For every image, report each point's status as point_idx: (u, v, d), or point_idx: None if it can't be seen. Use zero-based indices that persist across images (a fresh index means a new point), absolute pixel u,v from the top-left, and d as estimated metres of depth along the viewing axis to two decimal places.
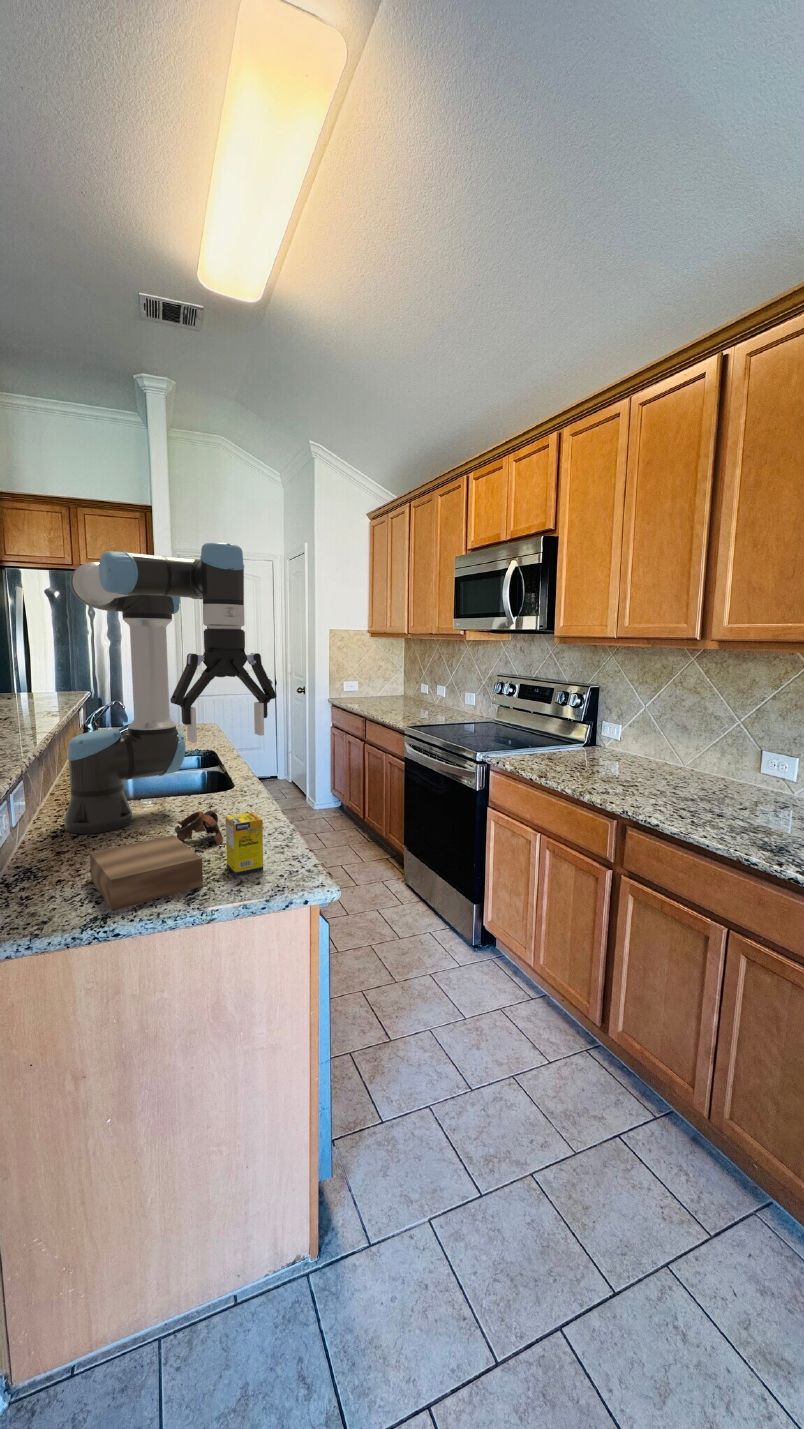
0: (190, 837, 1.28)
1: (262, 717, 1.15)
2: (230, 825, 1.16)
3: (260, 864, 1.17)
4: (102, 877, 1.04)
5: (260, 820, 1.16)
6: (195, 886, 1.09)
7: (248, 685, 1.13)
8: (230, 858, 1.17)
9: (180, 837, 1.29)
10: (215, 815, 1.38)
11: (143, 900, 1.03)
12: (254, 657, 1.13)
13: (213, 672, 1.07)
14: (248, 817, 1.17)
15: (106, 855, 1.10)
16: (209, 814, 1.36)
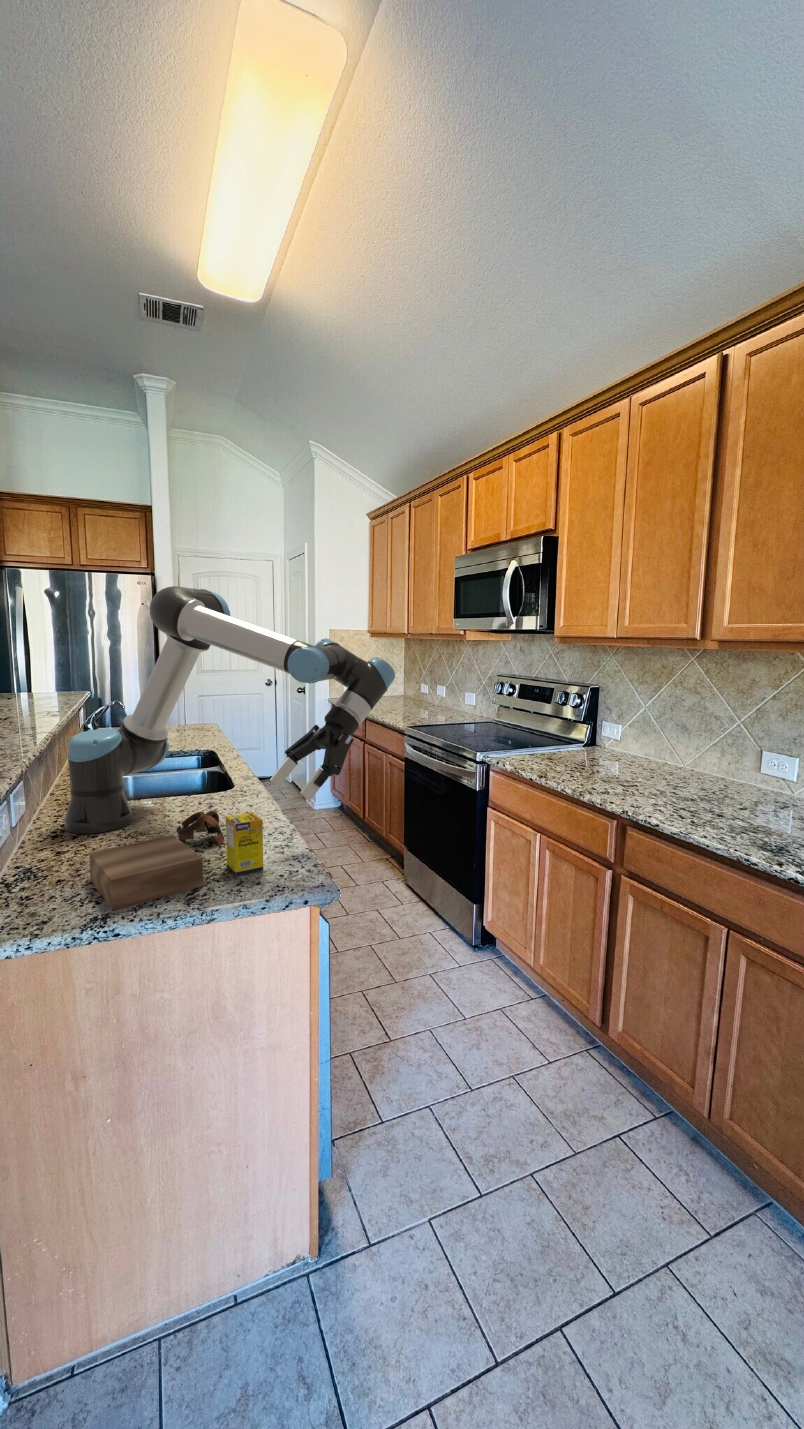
0: (192, 837, 1.28)
1: None
2: (230, 825, 1.16)
3: (260, 864, 1.17)
4: (102, 877, 1.04)
5: (260, 820, 1.16)
6: (195, 886, 1.09)
7: (309, 752, 1.30)
8: (230, 858, 1.17)
9: (181, 837, 1.29)
10: (217, 816, 1.38)
11: (144, 900, 1.03)
12: None
13: None
14: (248, 817, 1.17)
15: (106, 856, 1.10)
16: (210, 814, 1.36)
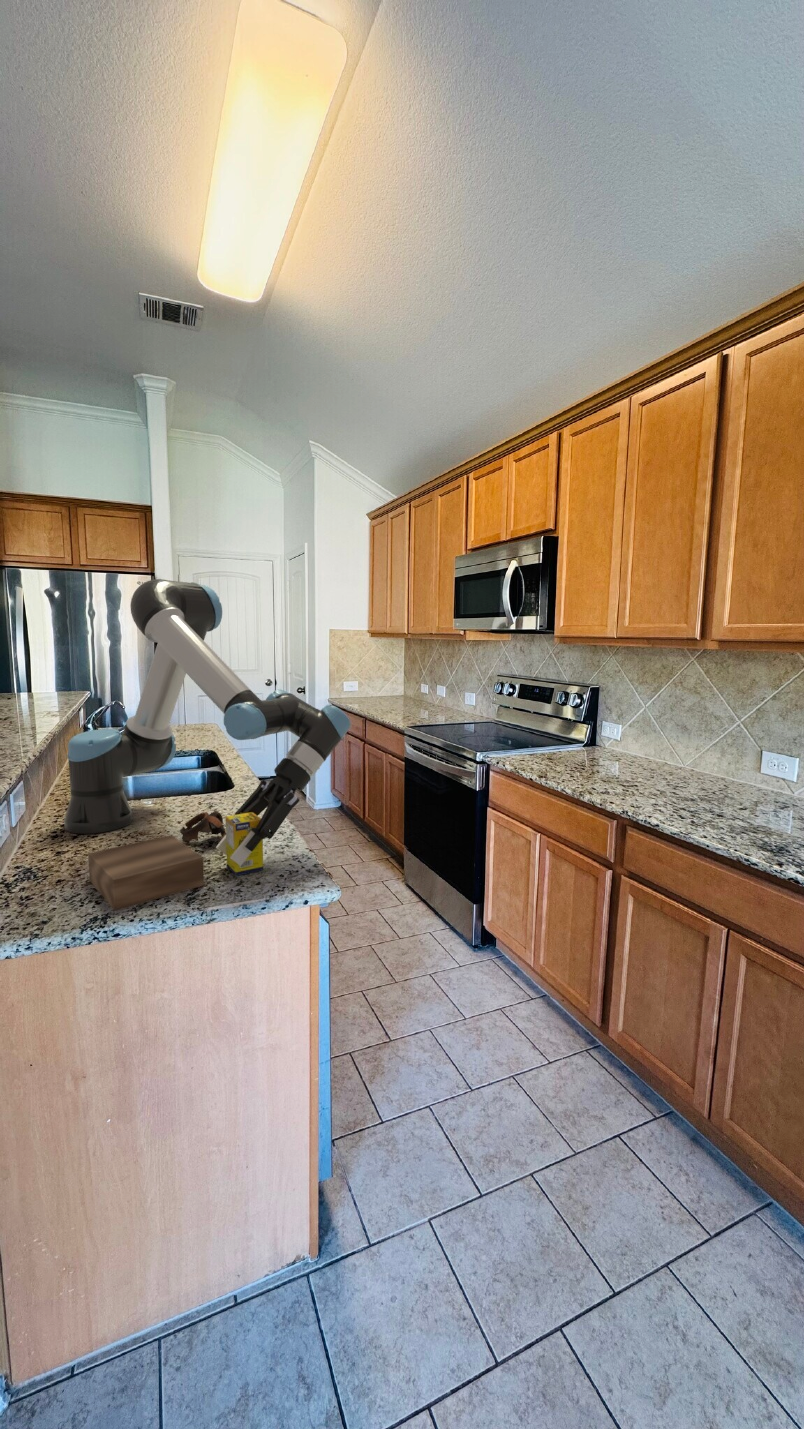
0: (196, 838, 1.27)
1: None
2: (230, 825, 1.16)
3: (260, 864, 1.17)
4: (103, 878, 1.04)
5: None
6: (196, 885, 1.10)
7: (260, 810, 1.22)
8: (230, 858, 1.17)
9: (186, 838, 1.28)
10: (220, 816, 1.38)
11: (145, 900, 1.03)
12: None
13: None
14: (248, 817, 1.17)
15: (105, 856, 1.09)
16: (214, 815, 1.35)
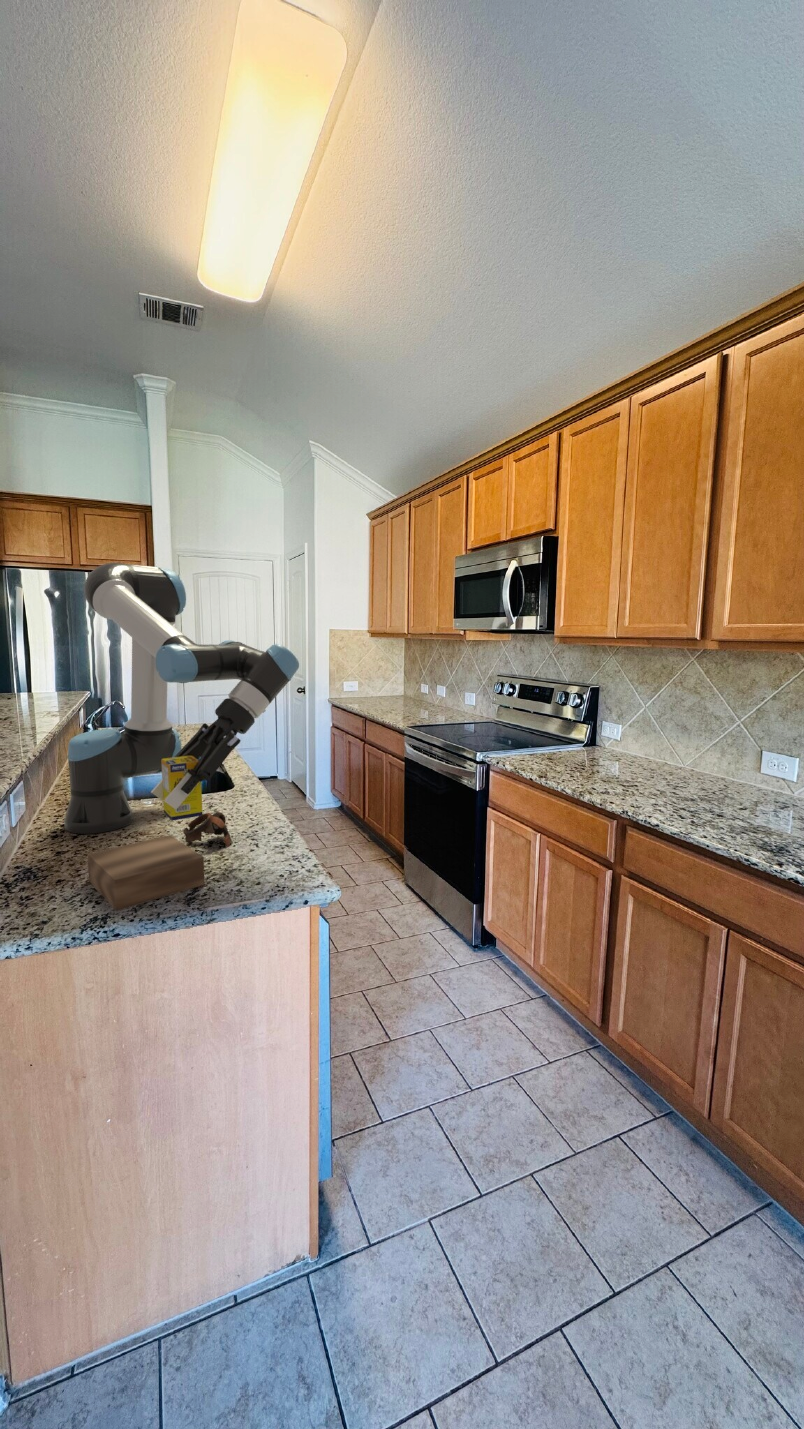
0: (199, 839, 1.27)
1: None
2: (165, 767, 1.08)
3: (199, 809, 1.10)
4: (104, 878, 1.04)
5: None
6: (197, 884, 1.10)
7: (200, 754, 1.15)
8: (166, 803, 1.09)
9: (189, 839, 1.28)
10: (223, 817, 1.37)
11: (146, 900, 1.03)
12: None
13: None
14: (185, 759, 1.10)
15: (105, 856, 1.09)
16: (217, 816, 1.35)
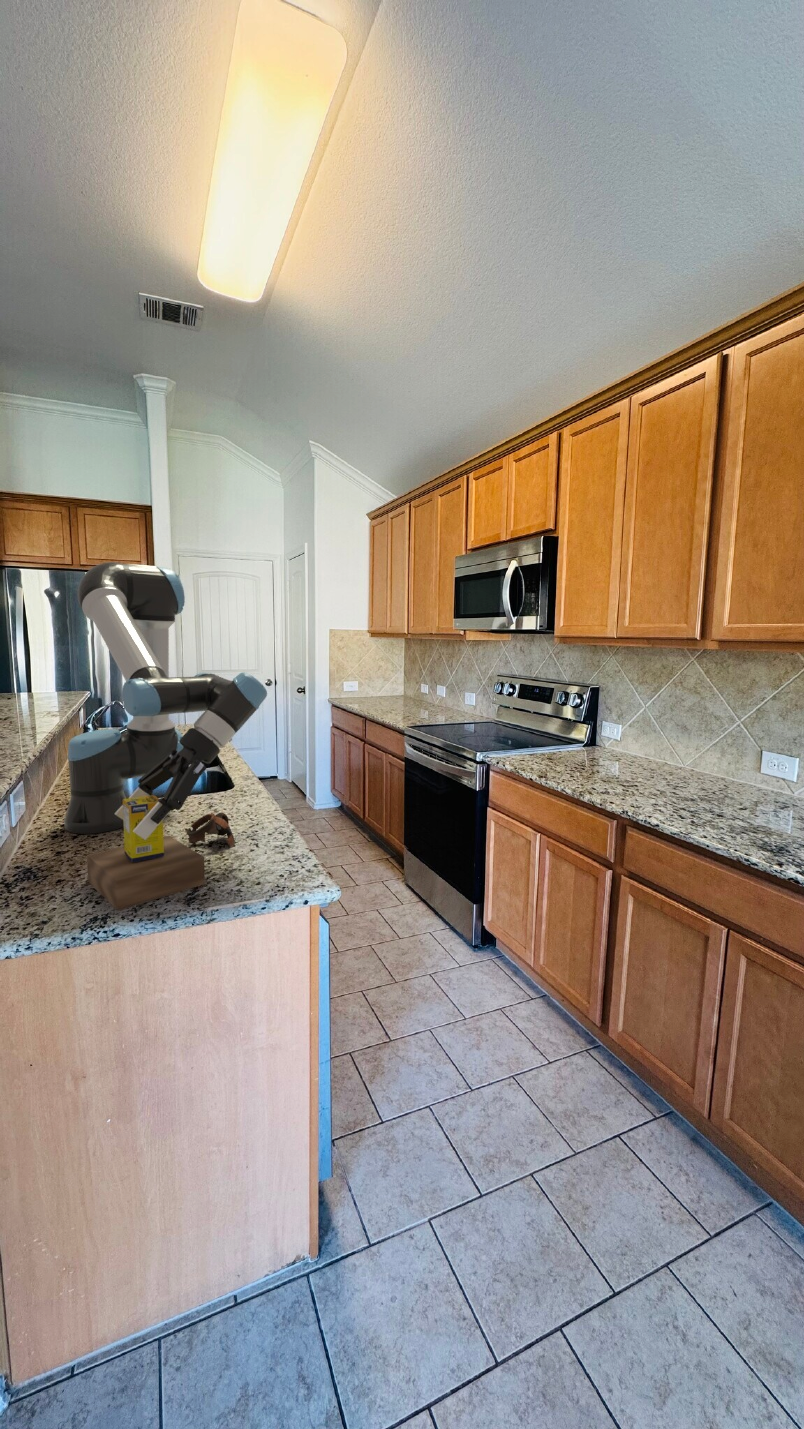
0: (203, 840, 1.26)
1: None
2: (126, 808, 1.07)
3: (160, 850, 1.09)
4: (104, 879, 1.04)
5: None
6: (197, 885, 1.10)
7: (164, 780, 1.15)
8: (127, 844, 1.08)
9: (193, 840, 1.27)
10: (226, 818, 1.37)
11: (147, 900, 1.04)
12: None
13: None
14: (147, 799, 1.09)
15: (105, 857, 1.09)
16: (220, 816, 1.35)
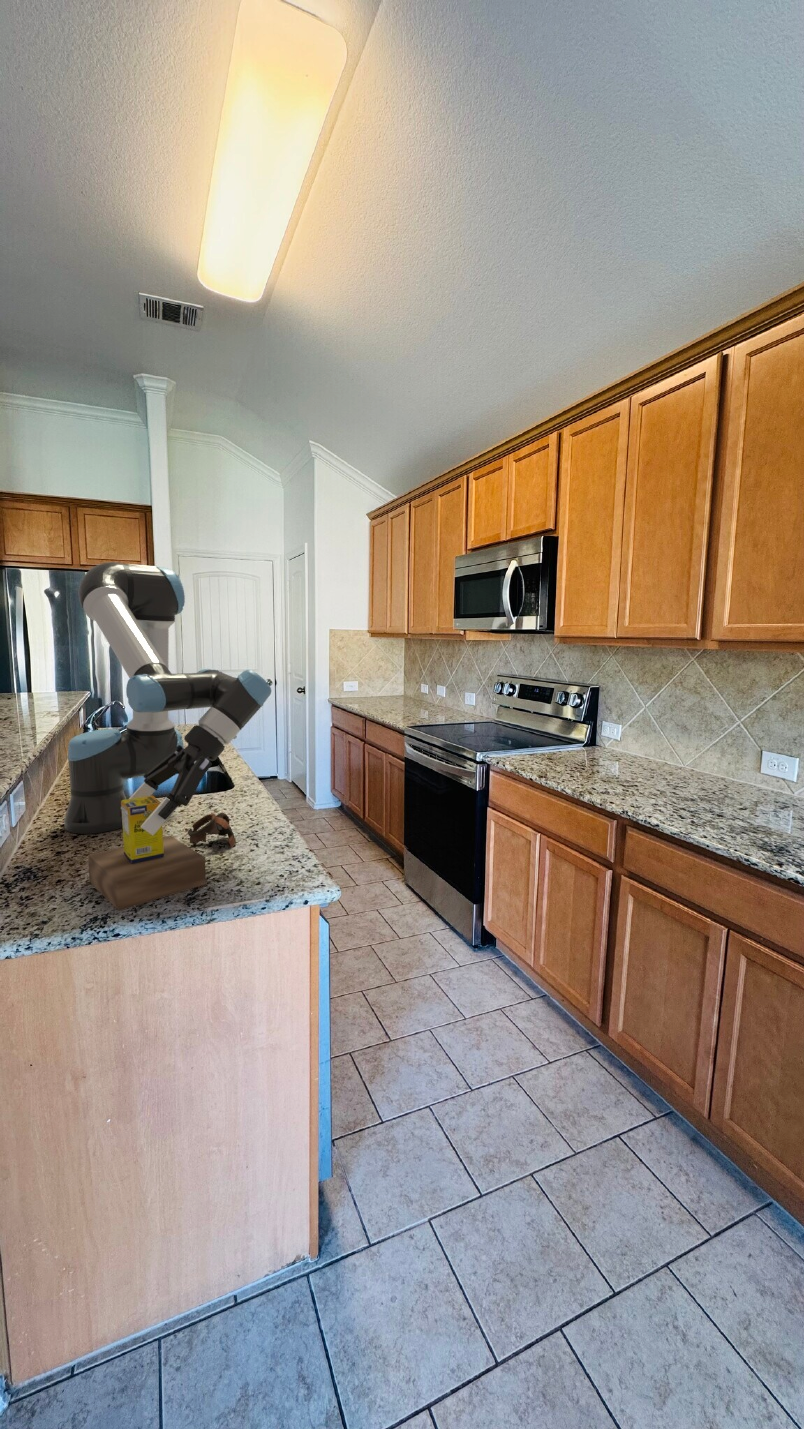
0: (204, 840, 1.26)
1: None
2: (125, 809, 1.07)
3: (160, 850, 1.09)
4: (105, 879, 1.04)
5: (159, 803, 1.08)
6: (198, 885, 1.10)
7: (169, 776, 1.16)
8: (126, 845, 1.08)
9: (194, 840, 1.27)
10: (227, 818, 1.37)
11: (148, 900, 1.04)
12: None
13: None
14: (146, 801, 1.09)
15: (106, 857, 1.09)
16: (221, 816, 1.34)
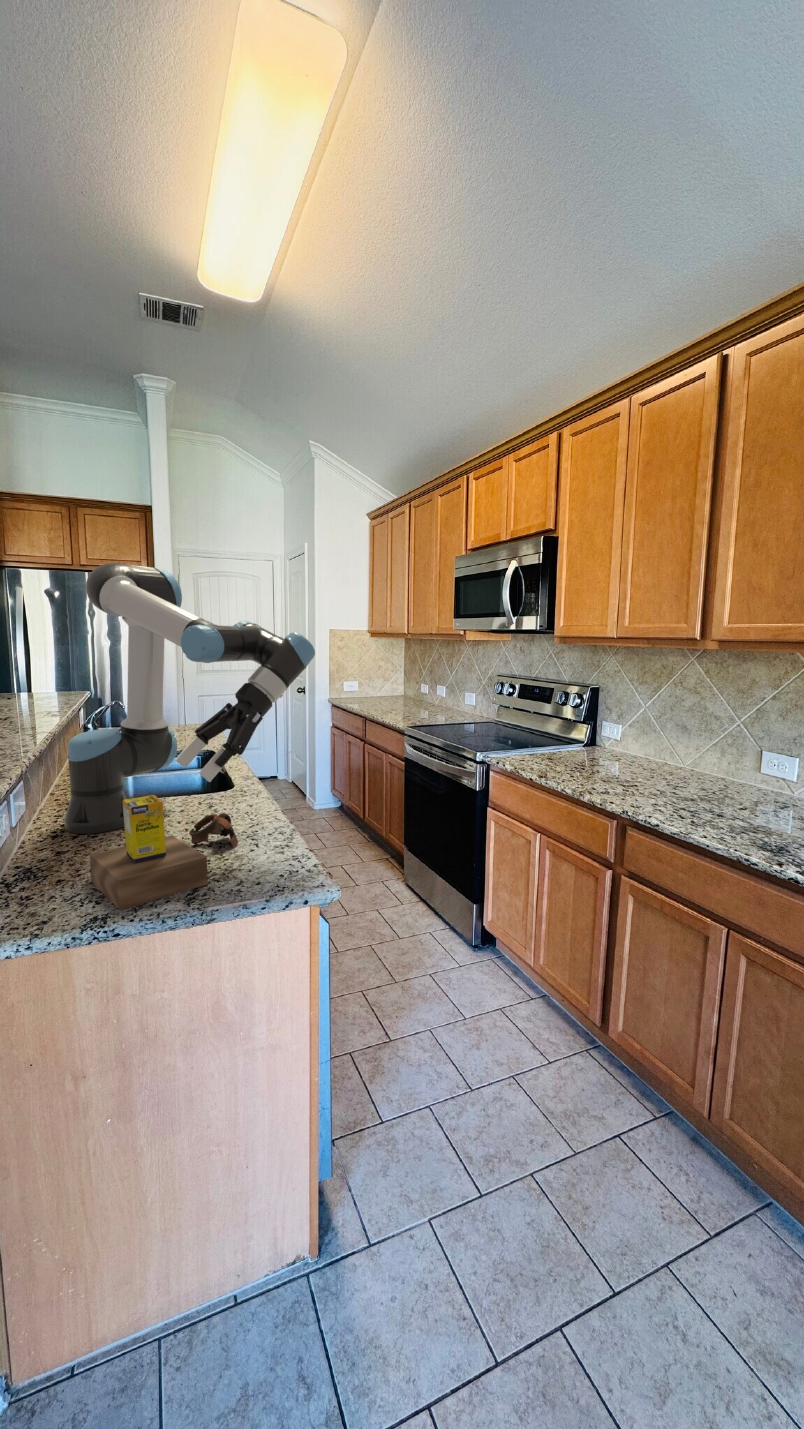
0: (206, 840, 1.26)
1: None
2: (126, 809, 1.07)
3: (162, 850, 1.09)
4: (107, 878, 1.04)
5: (160, 802, 1.08)
6: (200, 884, 1.10)
7: (219, 731, 1.23)
8: (128, 845, 1.08)
9: (196, 840, 1.27)
10: (229, 818, 1.36)
11: (150, 900, 1.04)
12: None
13: None
14: (147, 800, 1.09)
15: (108, 857, 1.09)
16: (223, 817, 1.34)
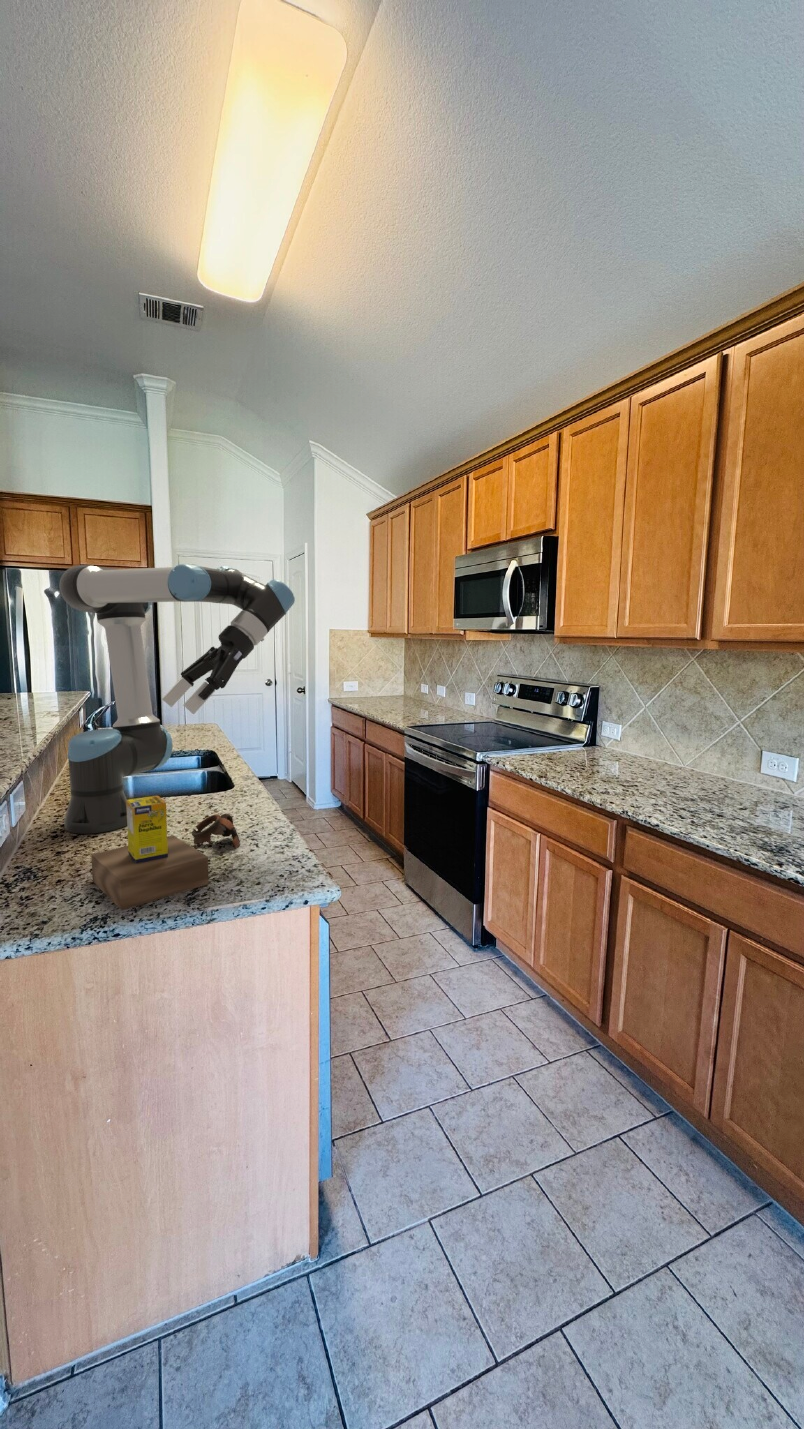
0: (209, 841, 1.26)
1: None
2: (130, 809, 1.07)
3: (164, 851, 1.09)
4: (108, 878, 1.04)
5: (163, 803, 1.08)
6: (201, 884, 1.10)
7: (204, 672, 1.29)
8: (130, 845, 1.08)
9: (198, 841, 1.27)
10: (231, 818, 1.36)
11: (151, 899, 1.04)
12: None
13: None
14: (151, 800, 1.09)
15: (109, 857, 1.09)
16: (225, 817, 1.34)
